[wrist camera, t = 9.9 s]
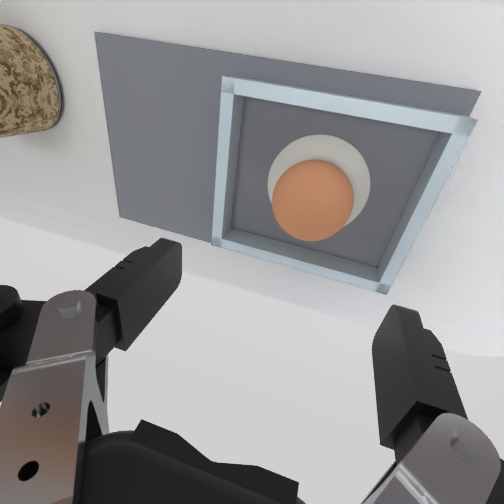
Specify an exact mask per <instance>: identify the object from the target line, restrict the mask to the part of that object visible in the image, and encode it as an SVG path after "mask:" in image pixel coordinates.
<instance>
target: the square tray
mask: <svg viewBox="0 0 504 504" xmlns="http://www.w3.org/2000/svg"><path fill="white" fill-rule="evenodd" d="M244 96H247V97H253V98H258V99H264V100H269V101H275V102H280V103H286V104H291V105H297V106H302V107H308V108H313V109H319V110H324V111H330V112H335V113H341V114H347V115H352V116H358V117H363V118H369V119H374V120H380V121H385V122H391V123H396V124H402V125H407V126H413V127H418V128H424V129H429V130H435V131H440V134H439V137H438V139H437V141H436V143H435V145H434V147H433V149H432V152H431V154H430V156H429V158H428V160H427V162H426V165H425V167H424V169H423V171H422V173H421V175H420V177H419V180H418V182H417V184H416V186H415V188H414V190H413V192H412V195H411V197H410V199H409V201H408V203H407V205H406V207H405V210H404V212H403V214H402V216H401V218H400V220H399V222H398V225H397V227H396V229H395V231H394V233H393V235H392V238H391V240H390V242H389V244H388V246H387V248H386V250H385V253H384V255H383V257H382V259H381V261H380V263H379V265H378V268H377V267H373V266H370V265H366V264H362V263H359V262H355V261H351V260H348V259H344V258H340V257H336V256H333V255H329V254H325V253H322V252H318V251H314V250H311V249H307V248H303V247H300V246H296V245H292V244H288V243H285V242H281V241H277V240H274V239H270V238H266V237H263V236H259V235H255V234H252V233H248V232H244V231H240V230H237V229H233V228H231V218H232V208H233V199H234V189H235V179H236V169H237V160H238V150H239V140H240V131H241V121H242V111H243V101H244ZM476 122H477V119H474V118H471V117H468V116H465V115H459V114H454V113H448V112H442V111H436V110H430V109H424V108H418V107H412V106H406V105H400V104H395V103H389V102H383V101H377V100H371V99H365V98H359V97H353V96H347V95H342V94H336V93H330V92H324V91H318V90H312V89H306V88H300V87H294V86H289V85H283V84H277V83H271V82H265V81H259V80H253V79H247V78H241V77H236V76H222V85H221V101H220V117H219V132H218V148H217V164H216V180H215V196H214V211H213V227H212V243H211V245H214V246H218V247H221V248H225V249H228V250H232V251H235V252H239V253H242V254H246V255H249V256H253V257H256V258H260V259H263V260H267V261H270V262H274V263H277V264H281V265H284V266H288V267H291V268H295V269H298V270H302V271H305V272H309V273H312V274H316V275H319V276H323V277H326V278H330V279H333V280H337V281H340V282H344V283H347V284H351V285H354V286H358V287H361V288H365V289H368V290H372V291H375V292H379V293H382V294H386V295H387V293H388V291H389V289H390V287H391V285H392V283H393V281H394V280H395V278H396V276H397V274H398V272H399V270H400V268H401V266H402V264H403V262H404V260H405V258H406V257H407V255H408V253H409V251H410V249H411V247H412V245H413V243H414V241H415V239H416V237H417V235H418V234H419V232H420V230H421V228H422V226H423V224H424V222H425V220H426V218H427V216H428V214H429V212H430V211H431V209H432V207H433V205H434V203H435V201H436V199H437V197H438V195H439V193H440V191H441V189H442V188H443V186H444V184H445V182H446V180H447V178H448V176H449V174H450V172H451V170H452V168H453V166H454V165H455V163H456V161H457V159H458V157H459V155H460V153H461V151H462V149H463V147H464V145H465V143H466V142H467V140H468V138H469V136H470V134H471V132H472V130H473V128H474V126H475V124H476ZM306 160H323V161H327V162H330V163H332V164H334V165H335V166H337V167H338V168H340V169H341V170H342V171H343V172H344V173H345V174H346V176H347V177H348V179H349V181H350V183H351V185H352V188H353V193H354V204H353V209H352V213H351V215H350V218H349V219H348V221H347V222H346V224H345V225H344V226H346V225H347V224H349V223H350V222H352V221H353V220H354V219H355V218H356V217H357V216H358V215H359V213H360V212H361V211H362V209H363V208H364V206H365V204H366V202H367V199H368V196H369V191H370V174H369V170H368V167H367V164H366V162H365V160H364V158H363V157H362V155H361V154H360V152H359V151H358V150H357V149H356V148H355V147H354V146H352V145H351V144H350V143H348V142H347V141H345V140H343V139H341V138H338V137H335V136H332V135H325V134H315V135H309V136H305V137H302V138H300V139H297V140H295V141H294V142H292V143H290V144H289V145H288V146H286V147H285V148H284V149H283V150H282V151H281V152H280V153H279V154H278V156H277V157H276V159H275V160H274V162H273V164H272V166H271V169H270V172H269V176H268V194H269V198H270V201H271V204H272V195H273V190H274V187H275V185H276V183H277V181H278V179H279V178H280V176H281V175H282V174H283V173H284V172H285V171H286V170H287V169H288V168H290V167H291V166H293V165H295V164H297V163H299V162H302V161H306ZM344 226H343V227H344Z"/></svg>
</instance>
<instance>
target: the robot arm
mask: <svg viewBox="0 0 504 504" xmlns="http://www.w3.org/2000/svg"><path fill="white" fill-rule="evenodd" d="M181 276H182V246H181V244H180V243H178V242H175V241H171V240H168V239H164V238H160V239H159V240H158V241H156V242H155V243H154V244H153V245H152V246H150V247H146V246H145V247H143V248H140V249H138V250H135V251H133V252H132V253H130V254H129V255H128V256H127V257H125V258H124V259H123V261H120V262H119V263H118V264H117V265H116V266H115V267H113V268H112V269H111V270H109V271H108V272H107V273H106V274H104V275H103V276H102V277H101V278H99V279H98V280H97V281H96V282H94V283H93V284H92V285H91V286H89V287H88V288H87V289H86V290H84V291H82V290H73V291H67V292H64V293H60V294H58V295H56V296H54V297H52V298H51V299H49V300H48V301H29V300H21V299H20V297H19V294H18V292H17V290H16V289H15V288H13V287H11V286H7V285H0V402H1V401H2V403H1V406H0V504H305V503H304V502H303V501H302V500H301V499H300V498H298V497H297V493H298V485H299V483H298V482H296V481H294V480H291V479H289V478H286V477H283V476H281V475H279V474H276V473H274V472H271V471H269V470H266V469H264V468H261V467H259V466H253V465H241V464H229V463H217V462H213V461H210V460H209V459H208V458H206V457H205V456H204V455H203V454H201V453H200V452H199V451H198V450H197V449H195V448H194V447H193V446H192V445H191V444H189V443H188V442H187V441H186V440H184V439H183V438H182V437H181V436H179V435H178V434H177V433H174V432H172V431H169V430H166V429H164V428H162V427H159V426H156V425H154V424H152V423H149V422H147V421H144V420H141V421H140V423H139V424H138V426H137V428H136V429H135V431H118V432H113V433H109V426H108V416H107V387H108V353H109V352H110V351H111V350H112V349H113V348H114V347H115V348H118V349H121V350H124V351H126V350H127V349H128V348H129V347H130V345H131V344H132V343H133V341H134V340H135V339H136V338H137V336H138V335H139V334H140V333H141V332H142V331H143V329H144V328H145V327H146V326H147V324H148V323H149V322H150V321H151V320H152V318H153V317H154V316H155V314H156V313H157V312H158V311H159V310H160V308H161V307H162V306H163V305H164V304H165V302H166V301H167V300H168V299H169V297H170V296H171V295H172V294H173V293H174V291H175V290H176V289H177V287H178V285H179V283H180V280H181ZM372 357H373V368H374V379H375V390H376V401H377V413H378V424H379V436H380V445H382V446H385V447H388V448H390V449H393V450H394V451H395V459H396V461H395V462H394V463H393V464H392V465H391V466H390V467H389V469H388V470H387V471H386V472H385V474H384V475H383V476H382V477H381V479H380V480H379V481H378V482H377V484H376V485H375V486H374V487H373V489H372V490H371V491H370V492H369V494H368V495H367V496H366V497H365V498H364V500H363V501H362V502H361V504H504V461H503V460H502V459H500V457H499V455H498V452H497V450H496V448H495V447H494V445H493V444H492V442H491V441H490V439H489V438H488V437H487V436H486V435H485V434H484V433H483V431H482V430H480V429H479V428H478V427H477V426H476V425H474V424H473V423H472V422H470V421H469V420H468V418H467V415H466V413H465V410H464V407H463V404H462V402H461V398H460V396H459V393H458V390H457V387H456V384H455V381H454V378H453V376H452V373H450V367H449V364H448V362H447V361H446V356H445V353H444V350H443V347H442V344H441V343H440V342H439V341H438V339H437V338H436V337H435V335H434V334H433V333H432V332H431V330H427V329H424V328H423V325H422V322H421V318H420V315H419V313H418V312H417V311H415V310H412V309H408V308H405V307H401V306H397V305H392V306H391V307H390V309H389V311H388V312H387V314H386V316H385V318H384V320H383V321H382V323H381V325H380V327H379V329H378V330H377V332H376V334H375V336H374V340H373V345H372Z"/></svg>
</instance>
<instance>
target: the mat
mask: <svg viewBox="0 0 504 504" xmlns="http://www.w3.org/2000/svg"><path fill="white" fill-rule="evenodd" d="M94 33H95V40H96V48H97V55H98V62H99V69H100V77H101V84H102V91H103V99H104V106H105V113H106V121H107V128H108V135H109V142H110V150H111V157H112V164H113V172H114V179H115V186H116V194H117V201H118V208H119V216H120V217H122V218H126V219H129V220H133V221H136V222H140V223H143V224H147V225H150V226H154V227H157V228H161V229H164V230H168V231H171V232H175V233H178V234H182V235H185V236H189V237H192V238H196V239H199V240H203V241H206V242H210V243H212V227H213V211H214V196H215V180H216V164H217V148H218V132H219V117H220V101H221V85H222V76H236V77H241V78H247V79H253V80H259V81H265V82H271V83H277V84H283V85H289V86H294V87H300V88H306V89H312V90H318V91H324V92H330V93H336V94H342V95H347V96H353V97H359V98H365V99H371V100H377V101H383V102H389V103H395V104H400V105H406V106H412V107H418V108H424V109H430V110H436V111H442V112H448V113H454V114H459V115H465V116H468V117H469V115H470V113H471V111H472V109H473V107H474V105H475V103H476V101H477V99H478V97H479V95H480V93H481V91H476V90H469V89H463V88H456V87H450V86H443V85H437V84H430V83H424V82H417V81H411V80H405V79H398V78H392V77H385V76H379V75H372V74H366V73H359V72H353V71H346V70H340V69H333V68H327V67H320V66H314V65H307V64H301V63H294V62H288V61H282V60H275V59H269V58H262V57H256V56H249V55H243V54H236V53H230V52H223V51H217V50H210V49H204V48H197V47H191V46H184V45H178V44H171V43H165V42H158V41H152V40H146V39H139V38H133V37H126V36H120V35H113V34H107V33H100V32H94ZM315 134H325V135H332V136H335V137H338V138H341V139H343V140H345V141H347V142H348V143H350V144H351V145H352V146H354V147H355V148H356V149H357V150H358V151H359V152H360V154H361V155H362V157H363V158H364V160H365V162H366V164H367V167H368V170H369V174H370V191H369V196H368V199H367V202H366V204H365V206H364V208H363V209H362V211H361V212H360V213H359V215H358V216H357V217H356V218H355V219H354V220H353V221H352V222H350V223H349V224H347V225H346V226H344V227H343V228H342V229H340V230H339V231H338V232H337V233H335V234H334V235H332V236H331V237H329V238H326V239H323V240H318V241H304V240H300V239H297V238H295V237H293V236H291V235H289V234H288V233H287V232H285V231H284V230H283V229H282V228H281V226H280V225H279V224H278V222H277V221H276V218H275V216H274V213H273V209H272V204H271V201H270V198H269V194H268V176H269V172H270V169H271V166H272V164H273V162H274V160H275V159H276V157H277V156H278V154H279V153H280V152H281V151H282V150H283V149H284V148H285V147H286V146H288V145H289V144H290V143H292V142H294V141H295V140H297V139H300V138H302V137H305V136H309V135H315ZM439 134H440V131H435V130H429V129H424V128H418V127H413V126H407V125H402V124H396V123H391V122H385V121H380V120H374V119H369V118H363V117H358V116H352V115H347V114H341V113H335V112H330V111H324V110H319V109H313V108H308V107H302V106H297V105H291V104H286V103H280V102H275V101H269V100H264V99H258V98H253V97H247V96H244V101H243V111H242V121H241V131H240V140H239V150H238V160H237V169H236V179H235V189H234V199H233V208H232V218H231V228H233V229H237V230H240V231H244V232H248V233H252V234H255V235H259V236H263V237H266V238H270V239H274V240H277V241H281V242H285V243H288V244H292V245H296V246H300V247H303V248H307V249H311V250H314V251H318V252H322V253H325V254H329V255H333V256H336V257H340V258H344V259H348V260H351V261H355V262H359V263H362V264H366V265H370V266H373V267H377V268H378V265H379V263H380V261H381V259H382V257H383V255H384V253H385V250H386V248H387V246H388V244H389V242H390V240H391V238H392V235H393V233H394V231H395V229H396V227H397V225H398V222H399V220H400V218H401V216H402V214H403V212H404V210H405V207H406V205H407V203H408V201H409V199H410V197H411V195H412V192H413V190H414V188H415V186H416V184H417V182H418V180H419V177H420V175H421V173H422V171H423V169H424V167H425V165H426V162H427V160H428V158H429V156H430V154H431V152H432V149H433V147H434V145H435V143H436V141H437V139H438V137H439Z"/></svg>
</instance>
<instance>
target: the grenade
mask: <svg viewBox="0 0 504 504" xmlns="http://www.w3.org/2000/svg"><path fill="white" fill-rule="evenodd" d="M60 108H61V93H60V87H59V84H58V80H57V77H56V75H55V72H54V70H53V68H52V66H51V64H50V63H49V61H48V59H47V58H46V56H45V55H44V54H43V52H42V51H41V50H40V49H39V47H38V46H37V45H36V44H35V43H34V42H33V41H32V40H31V39H30V38H29V37H28V36H27V35H25V34H24V33H23V32H21V31H20V30H18V29H16V28H14V27H11V26H8V25H3V24H0V138H1V137H7V136H13V135H19V134H25V133H31V132H37V131H43V130H47V129H49V128H51V127H52V126H53V125H54V124H55V122H56V121H57V119H58V117H59V113H60Z"/></svg>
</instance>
